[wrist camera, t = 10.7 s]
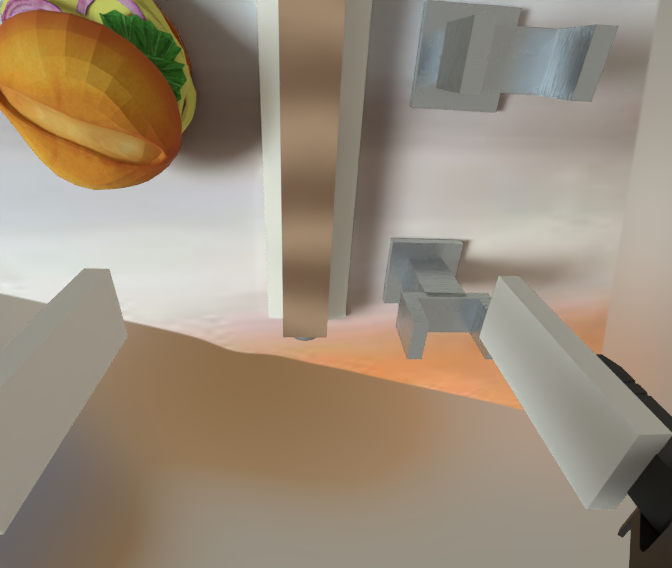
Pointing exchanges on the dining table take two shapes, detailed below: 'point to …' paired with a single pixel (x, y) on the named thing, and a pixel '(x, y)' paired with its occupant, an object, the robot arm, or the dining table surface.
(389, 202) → the dining table surface
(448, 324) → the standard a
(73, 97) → the cheeseburger
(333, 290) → the white plank
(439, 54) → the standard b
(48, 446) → the robot arm
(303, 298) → the rail
